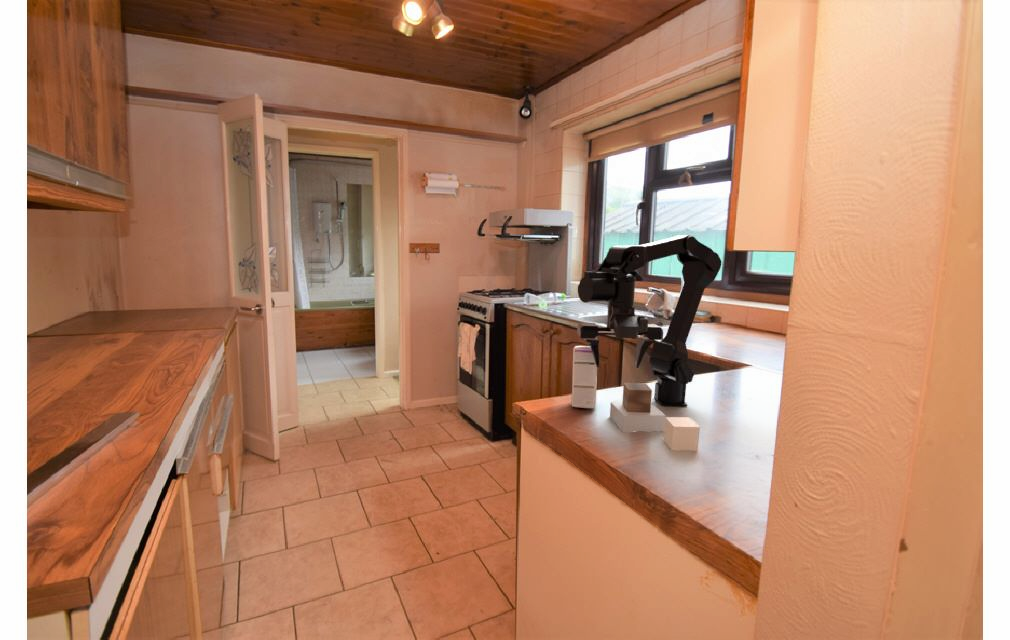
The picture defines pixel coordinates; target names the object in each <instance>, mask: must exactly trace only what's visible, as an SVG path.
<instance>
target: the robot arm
mask: <svg viewBox="0 0 1010 640" xmlns="http://www.w3.org/2000/svg"><path fill="white" fill-rule="evenodd" d="M672 256H676V257H677V258H676V259H677V260H678V262H679V263H680V264H681V265H682V270H681V274H682V280H683V286H682V289H681V291H680V295H679V298H678V300H677V303H676V305H675V308H674V312H673V315H672V317H671V319H670V323H669V325H668V328H667V331H666V335H665V336H664V329H663V328H662V327H661V326H659V325H657V324H655V323H649V318H648V316H646V315H638V316H636V313H635V312H636V311H635V310H636V309H635V308H636V307H634V306H635V292H636V291H635V290H636V282H643V280H644V278H643V277H642V275H640V274H639V272H638V271H639V270H640V269H642V268H644V267H645V266H646V265H647V264H648V263H650V262H653V261H656V260H660V259H663V258H667V257H672ZM721 266H722V259H721V258H720V255H719V253H717V252H715V251H714V250H713V249H712V248H710V247H709V246H707V245H705V244H704V243H702V242H700V241H699V240H698V239H697V238H696V237H695V236H693V235H691V234H688V235H687V234H685V235H684V234H682V235H681V234H680V235H675V236H673V237H669V238H665V239H661V240H658V241H657V240H656V241H653V242H649V243H643V244H639V245H612V246H610V247H609V249H608V251H607V254H606V256H605V257H604V259H603V261H602V262H601V264H600V265H599V266H598V268H597V269H596V270H595V271H587V270H586V271H584V273H583V277H582V278H581V279H580V280H579V283H578V285H577V295H578V297H579V299H580V301H581V302H582V303H585V304H589V303H607V316H606V317H607V319H606V326H598V325H597V324H596V323H595V322H579V323H578V325H577V327H576V335H577V336H578V337H579V338H580V339H583V340H584V341H585V343H588V346H590V347H591V350H592V353H593V357H594V360H595V363H596V366H597V368H600V351H599V350H600V349H599V344H600V340H599V338H598V336H600V335H601V336H602V335H604V336H606V335H608V336H614V337H615V338H616V339H620V340H624V339H632V340H636V348H635V358H634V361H635V363H634V364H635V365H634V367H635V368H636V369H638V368H639V367H640V365H641V362H642V360H643V358H644V356H645V354H646V352H647V350H648V349H649V347H650V346H651V345H652V349H651V351H650V352H649V354H648V356H649V364H650V367H651V371H652V375H653V376H655V377H657V382H655V385H654V394H653V395H654V396H653V399H655V400H656V401H657V402H658V403H659V404H660V405H661V406H664V407H665V406H667V407H670V406H671V407H687V406H688V403H687V402H686V392H687V391H686V390H687V384H689V383H692V382H693V379H694V376H695V374H694V372H693V371H692V369H691V368H690V367H689V366H688V364H687V363H688V357H689V353H688V350H687V349H688V348H687V340H688V337H689V335H690V331H691V328H692V325H693V323H694V321H695V317H696V315H697V312H698V308H699V306H700V303H701V300H702V296H704V292H705V290H706V288H708V287H709V286H710V285H711V284H712V283H713V282H714V281H715V280H716V278H717V276H718V273H719V272H720V270H721V268H722V267H721Z"/></svg>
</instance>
